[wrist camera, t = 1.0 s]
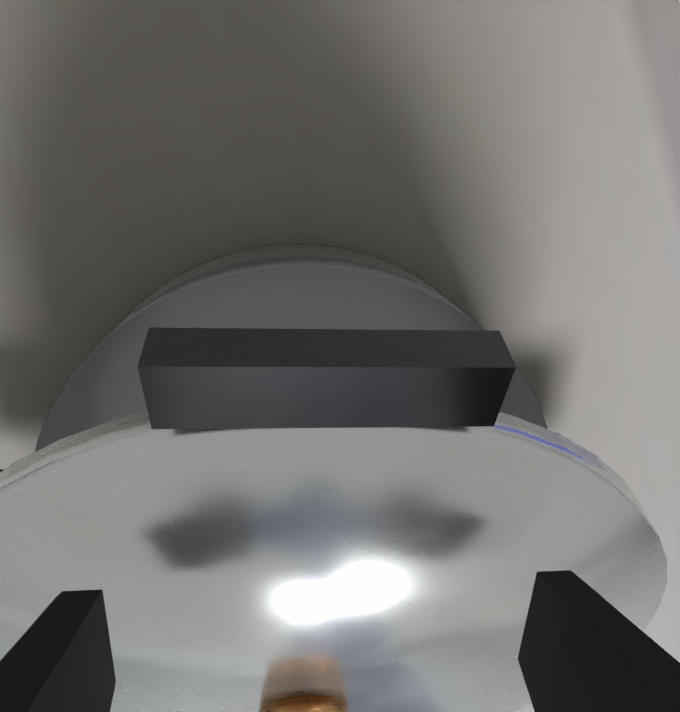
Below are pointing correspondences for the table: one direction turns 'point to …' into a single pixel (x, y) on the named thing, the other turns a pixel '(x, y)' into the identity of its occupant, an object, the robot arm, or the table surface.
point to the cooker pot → (261, 321)
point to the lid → (319, 525)
